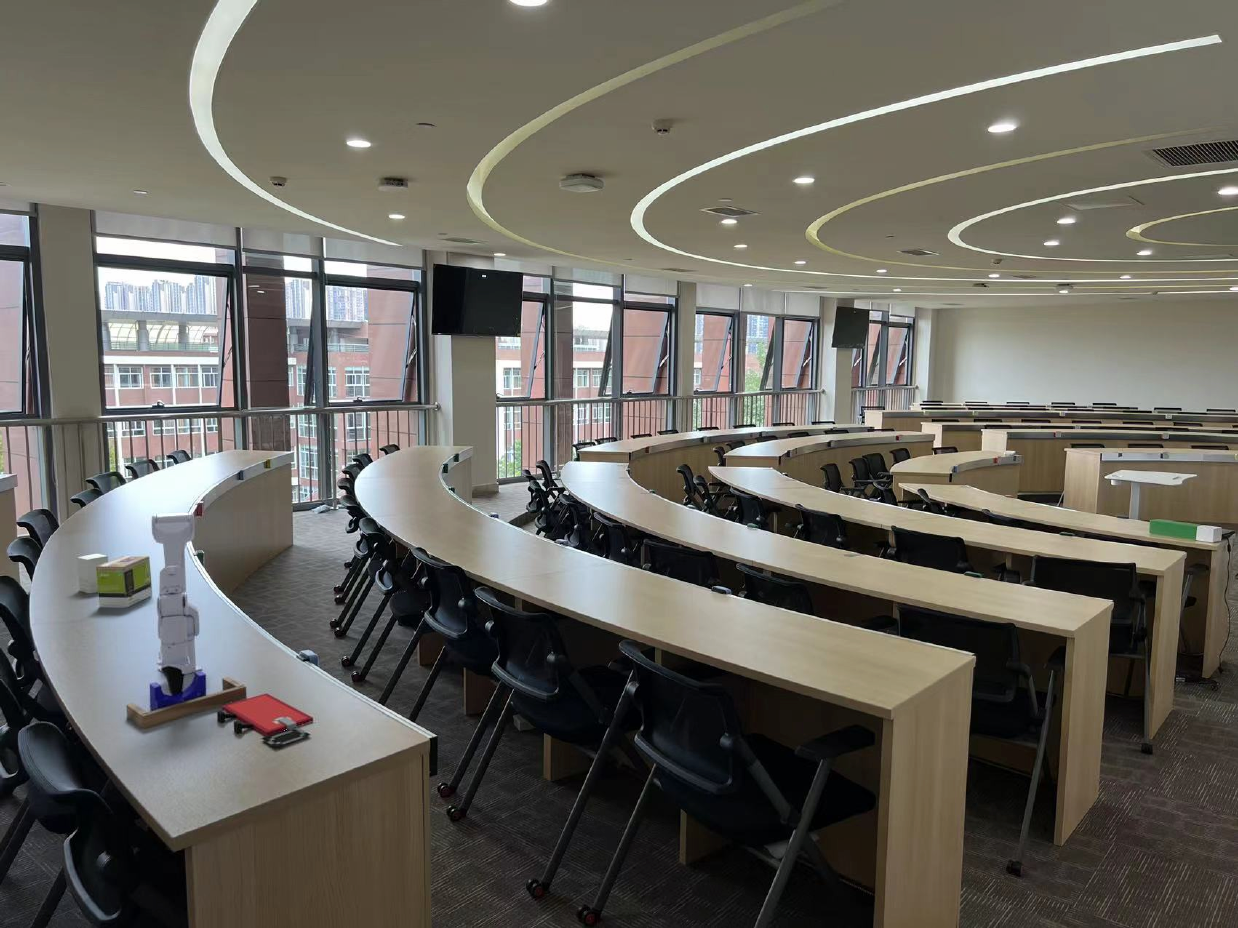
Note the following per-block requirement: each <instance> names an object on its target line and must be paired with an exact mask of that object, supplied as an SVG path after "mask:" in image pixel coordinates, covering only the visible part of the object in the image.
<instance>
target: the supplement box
mask: <svg viewBox="0 0 1238 928" xmlns="http://www.w3.org/2000/svg"><path fill="white" fill-rule="evenodd" d="M76 559H77V574H78V575H77V576H78V584H79V585H78V587H79V588H78V589H79V591H80V592H84V593H87V594H93V593H98V584H97V572H96V566H99V565H102V564H104V563H107V562H109V556H108V555H104V554H101V553H93V554H92V553H91V554H89V555H87V554H86V555H83V556H78V557H77V558H76Z"/></svg>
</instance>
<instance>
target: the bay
mask: <svg viewBox="0 0 1238 928" xmlns="http://www.w3.org/2000/svg"><path fill="white" fill-rule="evenodd" d="M221 679H222V681H221V682H222V683H221V684H222V690H220V691H218V692H214V693H211V694H206V696H203V697H200V698H196V699H193V700H189V701H186V702H182V703H179V704H175V705H172V706H168V707H165V708H161V709H158V710H151V711H146V710H144V709H143V708H142V707H140V706H138V705H137V704H135V702H132V703H128V704H126V717H127V718H128V719H130V720H131V721H132V722H133V723H135V724H136V725H138V726H139V727H140V728H141V729H144V730H145V729H149V728H151V727H155V726H158V725H161V724H164V723H167V722H170V721H171V722H172V721H174V720H177V719H181V718H185V717H188V716H191V715H194V714H198V713H201V712H204V711H207V710H211V708H212V709H215V708H218V707H221V706H220V705H222V706H224V705H227V703H228V704H231V703H230V702H232V703H234V702H238V701H241V700H245V699H248V698H247V686H246V685H244V684H243V683H240V682H238V681H236V680H235V679H233V678H231V677H229V676H225V677H222V678H221Z"/></svg>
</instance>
